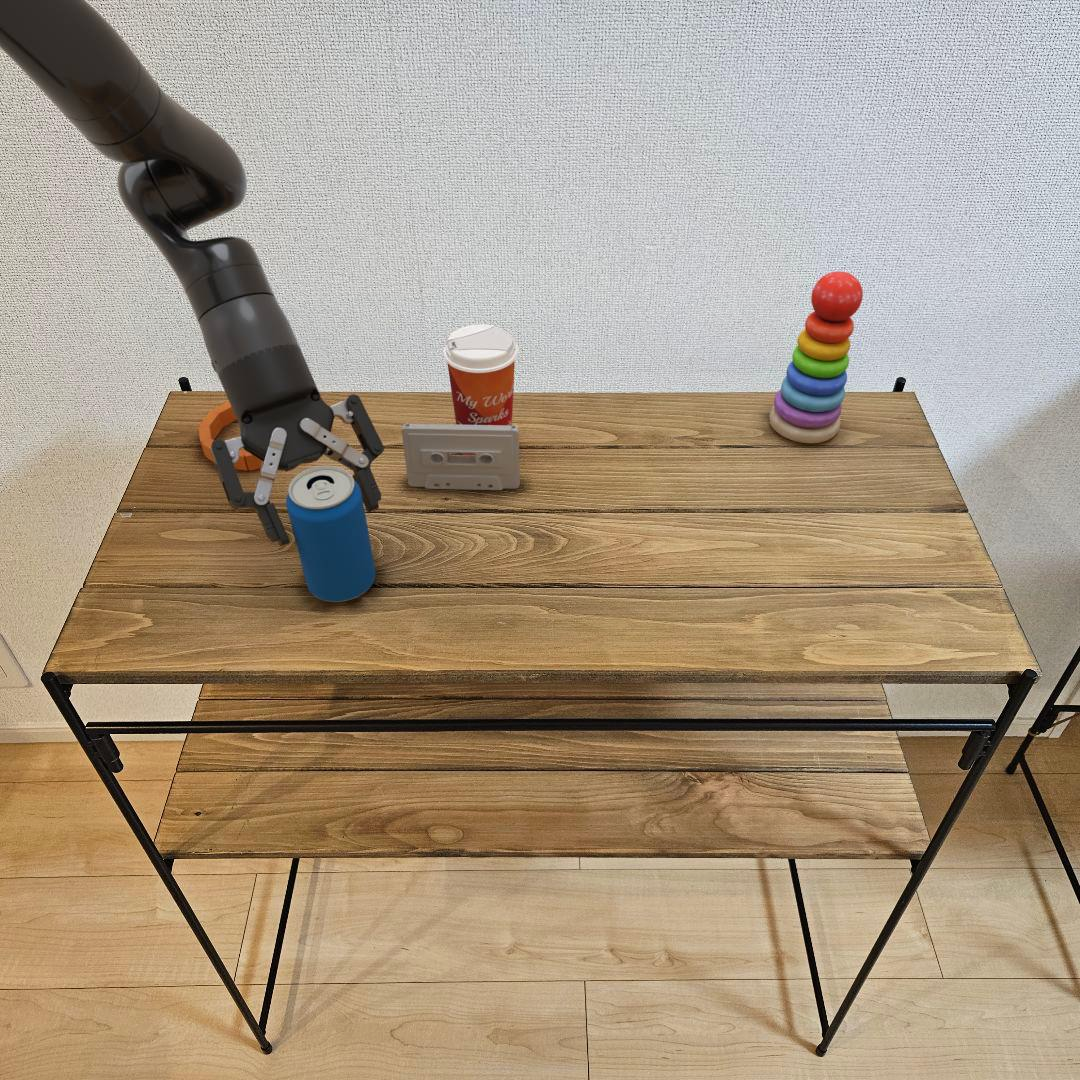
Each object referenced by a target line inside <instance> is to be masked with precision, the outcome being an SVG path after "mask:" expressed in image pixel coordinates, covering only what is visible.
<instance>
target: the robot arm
mask: <svg viewBox="0 0 1080 1080" xmlns="http://www.w3.org/2000/svg"><path fill="white" fill-rule="evenodd" d="M0 49H1V50H2V52H4V53H5V55H7V56H8V57H9V58H10V59H11V60H12V61H13V62H14V64H16V65H17V66H18V67H19V68H20V69H21V70H22V71H23V72H24V73H25V74H26V76H27V77H28V78H29V79H30V80H31V81H32V82H33V83H34V85H36V86H37V87H38V88H39V89H40V90H41V91H42V92H43V94H44V95H45V96H46V97H47V98H48V100H50V101H51V102H52V104H54V106H55V107H56V108H57V110H59V112H61V113H62V114H63V115H64V117H65V118H66V119H67V120H68V121H69V122H70V123H71V124H72V125H73V126H74V127H75V128H76V130H77V131H79V132H80V134H81V135H82V136H83V137H84V138H85V139H86V140H87V141H88V142H89V143H90V145H92V146H93V147H94V148H95V150H97V151H98V152H99V153H100V154H101V155H102V156H104V157H105V158H107V159H109V160H112V161H113V162H117V163H121V164H120V167H119V169H118V174H117V190H118V191H117V192H118V195H119V198H120V200H121V202H122V203H123V205H124V207H125V209H126V211H128V213H129V214H130V216H131V217H132V218H133V220H134V221H135V222H136V223H137V224H138V226H139V227H140V228H141V230H142V231H143V232H144V233H145V234H146V235H147V237H148V238H149V239H150V240H151V241H152V243H153V244H154V245H155V247H157V249H158V250H159V252H160V253H161V255H162V256H163V258H164V259H165V260H166V261H167V263H168V264H169V266H170V268H171V270H172V271H173V272H174V274H175V276H176V278H177V279H178V281H179V282H180V284H181V287H182V289H183V290H184V293H185V295H186V298H187V300H188V302H189V304H190V307H191V309H192V311H193V314H194V316H195V318H196V320H197V323H198V325H199V328H200V331H201V334H202V338H203V342H204V345H205V348H206V351H207V354H208V356H209V358H210V362H211V366H212V368H213V371H214V372H215V373H216V374H217V376H218V379H219V381H220V383H221V386H222V388H223V390H224V393H225V395H226V397H227V400H228V401H229V402H230V404H231V407H232V409H233V411H234V414H235V416H236V418H237V420H236V421H237V423H238V426H239V429H240V436H237V437H233V438H229V439H226V440H223V439H221V438H217V439H216V438H215V439H214V441H213V442H212V445H211V450H210V452H211V455H212V458H213V461H214V462H213V461H212V462H213V464H214V466H215V469H216V472H217V474H218V477H219V480H220V482H221V486H222V488H223V492H224V494H225V497H226V499H227V502H228V505H229V508H231V509H233V510H240V509H249V510H250V509H251V510H253V511H254V512H255V513H256V514H257V517H258V519H259V521H260V524H261V526H262V528H263V531H264V533H265V535H266V538H267V539H268V540H269V542H271V543H275V542H277V544H278V546H279V547H283V546H286V545H289V544H290V538H289V536H288V533H287V531H286V529H285V526H284V524H283V522H282V519H281V517H280V515H279V513H278V510H277V508H276V506H275V503H274V502H271V501H270V496H271V492H272V489H273V486H274V481H275V479H276V475H277V471H282V472H285V473H286V472H289V471H292V470H295V469H296V468H297V467H299V466H300V465H303V464H311V463H314V462H317V461H319V460H320V459H321V458H322V457H323V456H325V457H327V458H329V460H332V461H334V462H337V463H339V464H341V465H343V466H344V467H346V468H347V469H349V470H351V471H352V472H353V474H352V477H353V479H354V480H355V481H356V483H357V484H358V485H359V487H360V489H361V493H362V499H363V505H364V509H365V511H367V513H371V512H374V511H376V510H377V509H379V508H380V505H379V502H380V501H381V500H382V493H381V490H380V488H379V485H378V484H377V481H376V479H375V476H374V474H373V471H372V468H371V465H372V463H373V462H374V461H375V460H376V459H377V458H378V457H379V456H380V455H382V454H383V453H384V452H385V446H384V443H383V442H382V440H381V438H380V436H379V433H378V432H377V430H376V428H375V426H374V424H373V422H372V420H371V418H370V416H369V414H368V412H367V410H366V408H365V406H364V403H363V401H362V399H361V398H360V396H359V395H357V394H353V393H352V394H350V395H348V397H346V399H344V400H342V401H339V402H337V403H335V404H332V405H329V404H328V403H327V402H326V401H325V400H324V399H323V398H322V396H321V393H320V391H319V389H318V386H317V384H316V382H315V379H314V378H313V375H312V372H311V370H310V368H309V365H308V363H307V361H306V359H305V358H306V357H305V356H304V354H303V351H302V349H301V346H300V345H299V342H298V340H297V337H296V335H295V333H294V331H293V328H292V325H291V324H290V321H289V319H288V318H287V316H286V314H285V312H284V311H283V309H282V307H281V305H280V304H279V302H278V300H277V298H276V295H275V293H274V291H273V288H272V286H271V283H270V281H269V280H268V277H267V274H266V271H265V270H264V267H263V265H262V263H261V261H260V258H259V256H258V253H257V252H256V250H255V249H254V247H253V246H252V244H251V243H250V242H249V241H247V240H246V239H244V238H241V237H238V236H220V237H214V238H208V239H207V238H206V239H201V240H191V238H190V236H189V235H188V231H190V230H191V229H194V228H196V227H198V226H200V225H203V224H205V223H207V222H209V221H211V220H215V219H217V218H219V217H221V216H223V215H225V214H227V213H231V212H232V211H234V210H235V209H237V208H239V207H240V206H241V205H242V203H243V202H244V200H245V198H246V195H247V189H248V180H247V174H246V173H247V172H246V170H245V167H244V165H243V162H242V161H241V159H240V158H239V156H238V154H237V152H236V151H235V150H234V149H233V147H232V146H231V144H229V143H228V142H227V140H226V139H224V137H222V135H220V134H219V133H218V132H217V131H216V130H215V129H213V128H212V127H210V125H208V124H207V123H205V122H204V121H203V120H201V119H200V118H198V117H197V116H195V115H194V114H193V113H191V112H190V111H189V110H187V109H186V108H184V107H183V106H182V105H181V104H180V103H178V102H177V101H176V100H174V99H173V98H172V97H171V96H169V94H167V93H166V92H165V91H164V90H163V88H161V87H160V85H159V84H158V83H157V81H156V80H155V79H154V78H153V76H152V75H151V74H150V72H149V70H147V68H146V67H145V66H144V64H143V63H142V62H141V60H140V59H139V58H138V57H137V55H136V54H135V53H134V51H133V49H132V48H130V46H129V44H127V42H126V41H125V40H124V39H123V37H122V36H121V35H120V34H119V32H118V31H117V30H116V29H115V28H114V27H113V25H111V24H110V22H108V20H106V19H105V18H104V17H103V16H102V15H101V14H100V13H99V12H98V11H97V10H96V9H95V8H94V7H93V6H92V5H91V4H90V3H89V2H88V1H87V0H0ZM335 418H338V419H339V420H341V422H342V423H343V424H345V425H350V426H351V429H352V430H353V433H354V435H355V436H356V438H357V440H358V442H359V444H360V446H361V448H362V450H363V451H362V452H361V451H359V450H357V449H356V448H354V447H352V446H351V445H350V444H349V443H348V442H347V441H345V440H344V439H343V438H340V437H339V436H337V435H336V434H334V433H332V428H333V424H334V420H335ZM240 450H246V451H247V452H249V453H251V454H252V455H254V456H255V457H257V458H259V459H260V460H262V461H263V462H262V465H261V468H260V469H259V473H258V476H257V479H256V480H257V481H256V485H255V488H254V491H253V492H252V491H249V492H244V489H243V486H242V484H241V480H240V478H239V475H238V472H237V469H235V467H234V464H236V463H237V462H238V459H239V451H240Z"/></svg>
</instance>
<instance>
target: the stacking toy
mask: <svg viewBox="0 0 1080 1080" xmlns="http://www.w3.org/2000/svg"><path fill="white" fill-rule="evenodd" d="M863 296H864V291H863V287H862V284H861V282H860V281H859V280H858V278H857V277H856V276H854V275H853V274H851V273H849V272H846V271H841V270H840V271H831V272H828V273H826V274H825V275H823V276H822V277H820V278H819V279H818V281H816V283H815V284H814V286H813V288H812V291H811V296H810V297H811V299H810V300H811V306H812V308H813V312H811V313H809V315H808V316H807V317H806V319H805V323H804V329H803V330H802V331H801V332H800V333H798V337H797V341H796V342H797V346H795V348H794V350H793V351H792V361H791V362H790V363H788V365H787V368H786V374H785V377H784V378H783V380H782V382H781V386H780V389H779V390H778V391H777V392H776V394H775V396H774V399H773V406H772V407H771V409H770V411H769V422H770V426H772V429H773V430H774V431H776V432H777V433H778V434H779V435H780V436H782V437H783V438H786V439H788V440H790V441H793V442H797V443H803V444H819V443H823V442H826V441H828V440H831V439H832V438H833V437H834V436H836V434H837V433H838V432H839V430H840V427H841V424H842V423H841V422H842V421H841V420H842V419H841V416H840V415H841V413H842V408H843V406H842V403H843V401H844V399H845V397H846V396H845V395H846V389H845V386H846V384H847V382H848V374H847V369H848V368H849V364H850V357H849V354H848V353H849V351H850V349H851V340H850V337H851V336H852V335H853V332H854V330H855V323H854V320H853V319H852V316H853V315H855V314H856V313H857V312H858V310H859V308H860V307H861V304H862V301H863Z"/></svg>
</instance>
